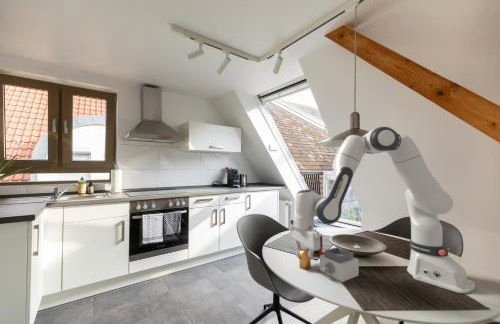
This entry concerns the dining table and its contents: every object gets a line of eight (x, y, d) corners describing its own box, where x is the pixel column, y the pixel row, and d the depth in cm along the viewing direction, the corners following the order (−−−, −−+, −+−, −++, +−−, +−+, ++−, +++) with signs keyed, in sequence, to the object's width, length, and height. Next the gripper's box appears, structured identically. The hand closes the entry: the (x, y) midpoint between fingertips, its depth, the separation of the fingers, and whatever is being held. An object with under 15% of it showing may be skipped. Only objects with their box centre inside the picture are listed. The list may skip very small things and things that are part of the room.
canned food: (304, 254, 125) (304, 233, 125) (312, 249, 131) (311, 230, 131) (318, 258, 120) (317, 237, 120) (324, 253, 126) (324, 233, 126)
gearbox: (358, 275, 102) (358, 253, 102) (335, 284, 94) (335, 261, 94) (335, 264, 112) (335, 245, 112) (313, 272, 104) (313, 251, 104)
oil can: (306, 264, 113) (306, 247, 113) (313, 268, 108) (312, 251, 108) (293, 266, 110) (293, 250, 110) (299, 271, 105) (299, 254, 105)
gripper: (324, 229, 101) (323, 260, 101) (298, 218, 120) (298, 244, 120) (312, 230, 99) (311, 262, 99) (287, 219, 118) (287, 246, 118)
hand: (304, 252), depth 110 cm, fingers open, 8 cm apart
